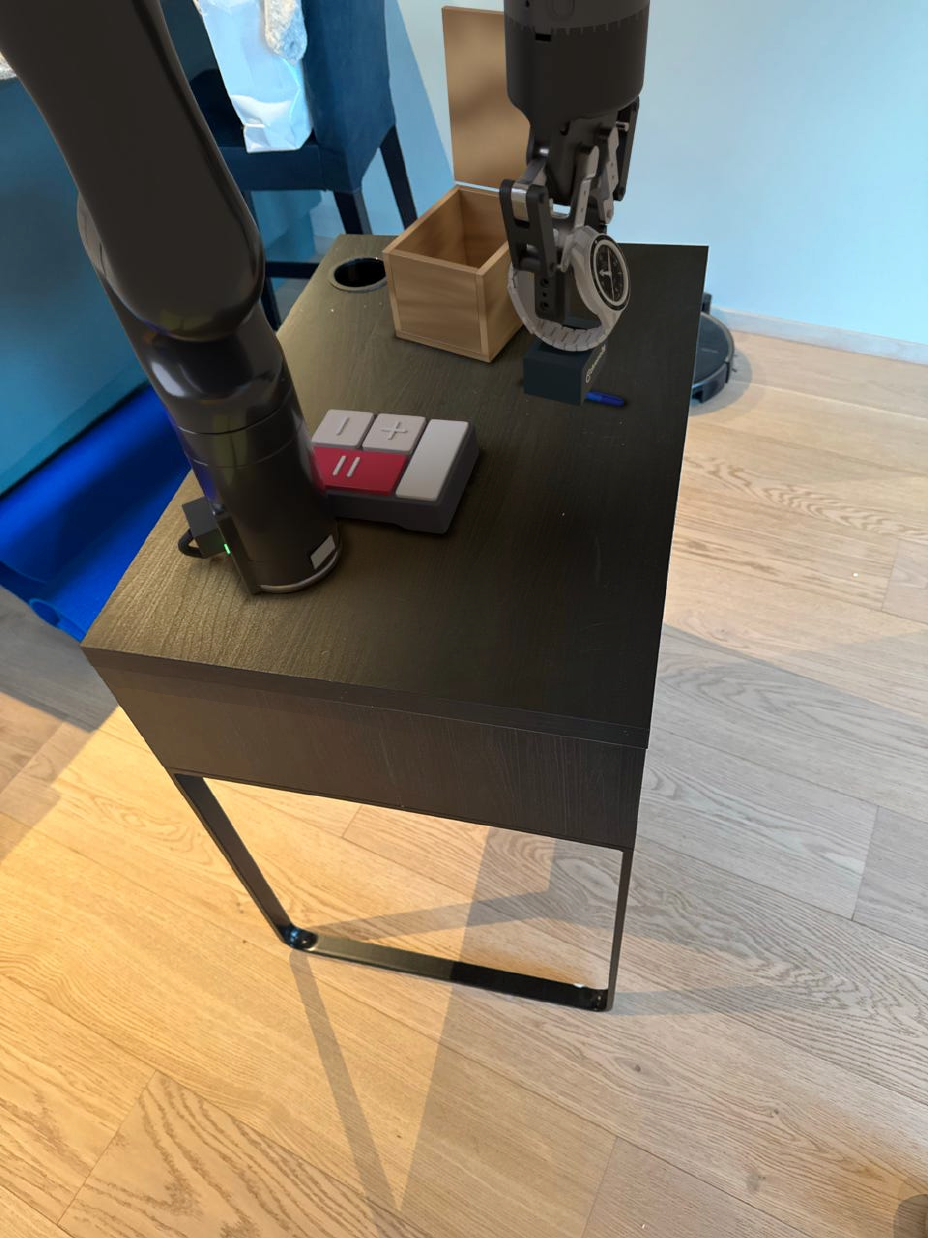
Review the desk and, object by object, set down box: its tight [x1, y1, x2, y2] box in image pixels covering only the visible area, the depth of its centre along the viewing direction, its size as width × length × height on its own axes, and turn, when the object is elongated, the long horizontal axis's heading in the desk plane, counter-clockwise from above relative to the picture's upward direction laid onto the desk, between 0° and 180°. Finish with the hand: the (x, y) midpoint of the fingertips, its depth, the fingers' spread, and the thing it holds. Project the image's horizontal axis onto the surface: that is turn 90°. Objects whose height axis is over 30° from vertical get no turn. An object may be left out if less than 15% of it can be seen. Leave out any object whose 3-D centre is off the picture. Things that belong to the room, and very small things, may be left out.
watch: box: [507, 226, 631, 407], centre depth 57 cm, size 6×8×11 cm
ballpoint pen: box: [584, 390, 625, 407], centre depth 83 cm, size 10×1×1 cm, turn 65°
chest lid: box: [440, 5, 530, 190], centre depth 84 cm, size 16×12×5 cm
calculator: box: [310, 409, 480, 535], centre depth 77 cm, size 11×4×15 cm
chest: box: [381, 183, 554, 364], centre depth 90 cm, size 15×12×10 cm
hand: (570, 296), depth 56 cm, fingers closed on watch, 4 cm apart
